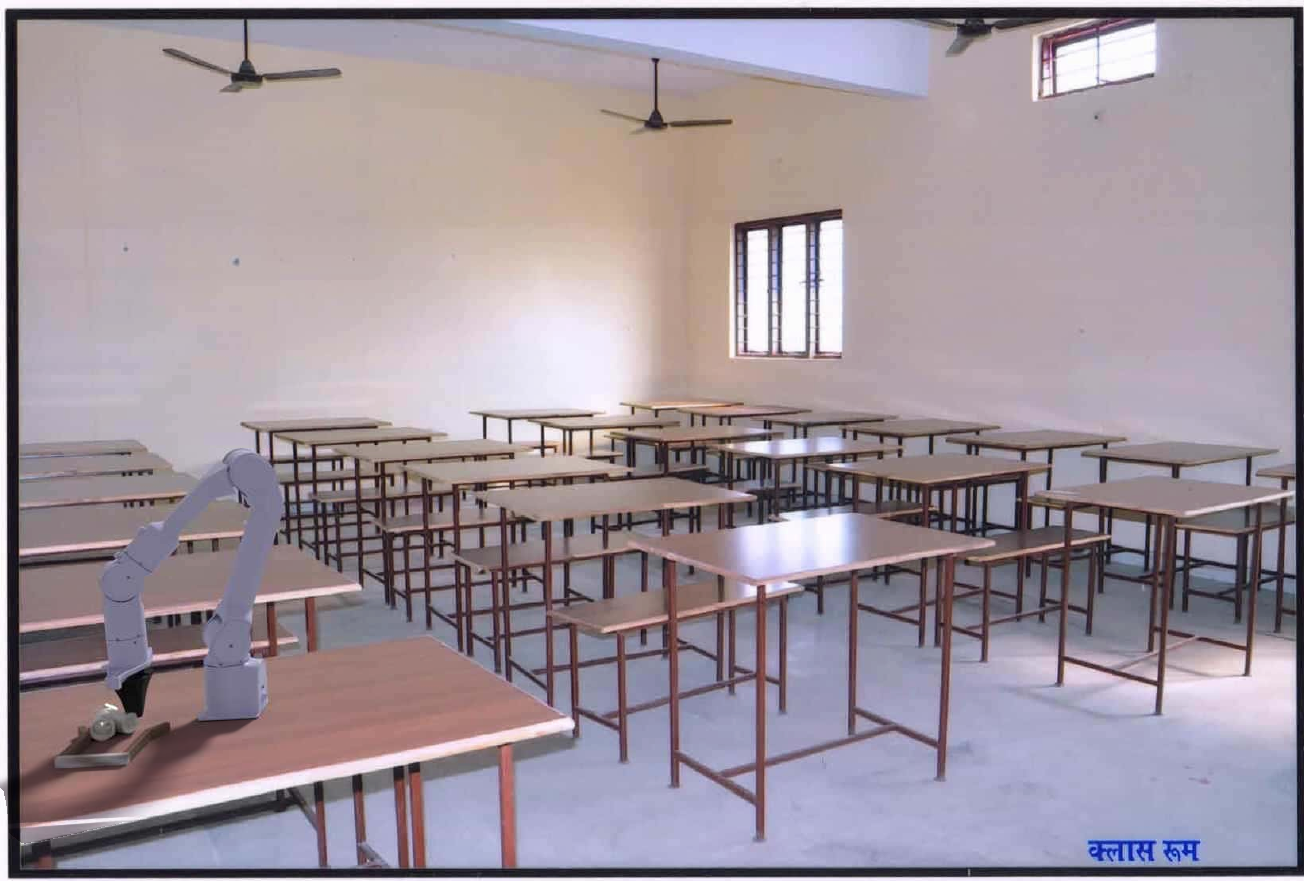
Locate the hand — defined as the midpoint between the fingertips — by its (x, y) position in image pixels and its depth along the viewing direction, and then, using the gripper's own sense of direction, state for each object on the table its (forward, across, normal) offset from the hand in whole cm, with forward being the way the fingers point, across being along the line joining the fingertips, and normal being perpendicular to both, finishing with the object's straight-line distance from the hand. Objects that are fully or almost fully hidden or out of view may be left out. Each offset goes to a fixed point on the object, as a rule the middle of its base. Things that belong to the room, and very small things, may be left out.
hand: (134, 717), depth 163 cm
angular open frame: (+2, +9, -1) cm, 9 cm away
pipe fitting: (+1, -1, 0) cm, 1 cm away
